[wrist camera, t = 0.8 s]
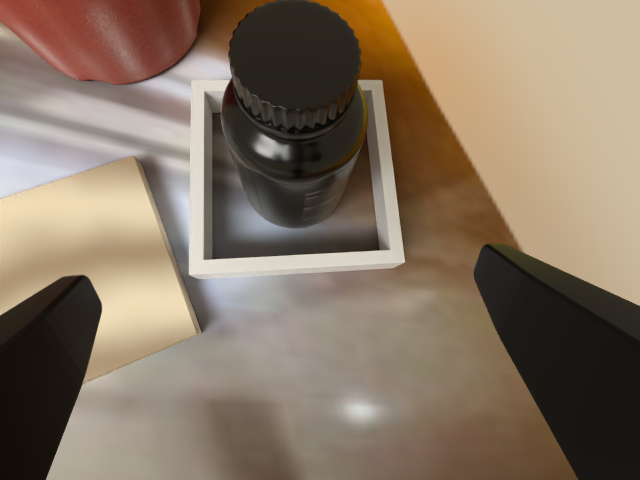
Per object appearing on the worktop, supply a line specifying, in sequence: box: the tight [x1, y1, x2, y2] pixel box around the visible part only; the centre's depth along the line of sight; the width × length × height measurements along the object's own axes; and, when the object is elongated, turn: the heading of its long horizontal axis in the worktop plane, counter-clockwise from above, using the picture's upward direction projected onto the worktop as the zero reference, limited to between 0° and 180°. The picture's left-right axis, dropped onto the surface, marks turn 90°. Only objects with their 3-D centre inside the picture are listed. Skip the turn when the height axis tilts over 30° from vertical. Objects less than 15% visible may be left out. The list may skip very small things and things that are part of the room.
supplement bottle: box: [221, 0, 368, 228], centre depth 18 cm, size 7×7×12 cm
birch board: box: [0, 156, 202, 384], centre depth 21 cm, size 12×10×1 cm
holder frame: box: [189, 80, 405, 279], centre depth 23 cm, size 13×13×2 cm
